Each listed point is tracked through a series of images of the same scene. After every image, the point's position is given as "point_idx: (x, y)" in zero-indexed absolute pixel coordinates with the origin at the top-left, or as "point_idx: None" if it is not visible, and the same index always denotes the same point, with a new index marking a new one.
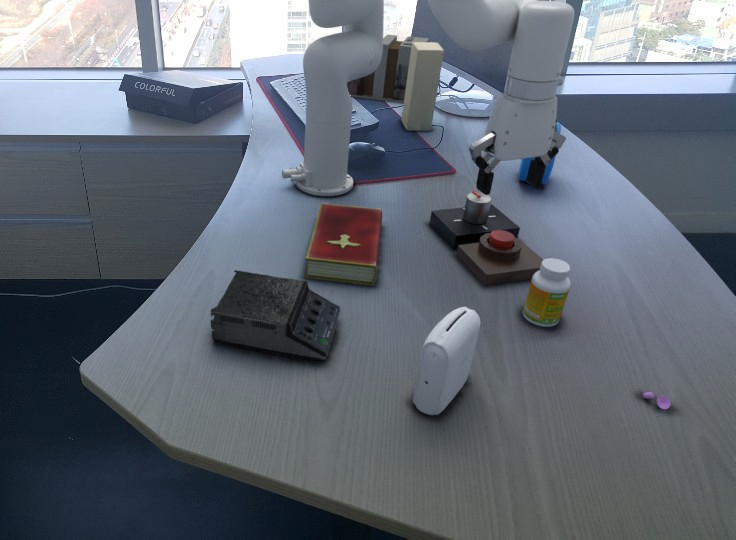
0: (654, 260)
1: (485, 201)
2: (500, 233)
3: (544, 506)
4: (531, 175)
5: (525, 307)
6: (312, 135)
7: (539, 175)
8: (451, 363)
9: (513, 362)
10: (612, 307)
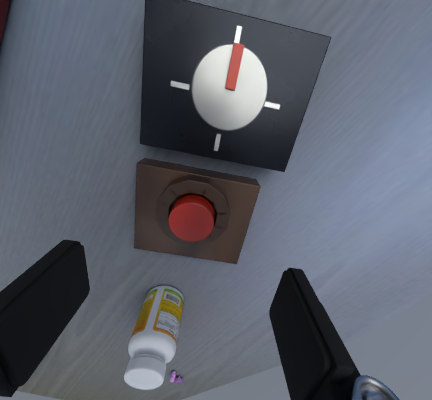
0: (394, 273)
1: (227, 123)
2: (193, 215)
3: (53, 390)
4: (288, 314)
5: (144, 302)
6: None
7: (282, 362)
8: None
9: (98, 326)
10: (251, 309)
